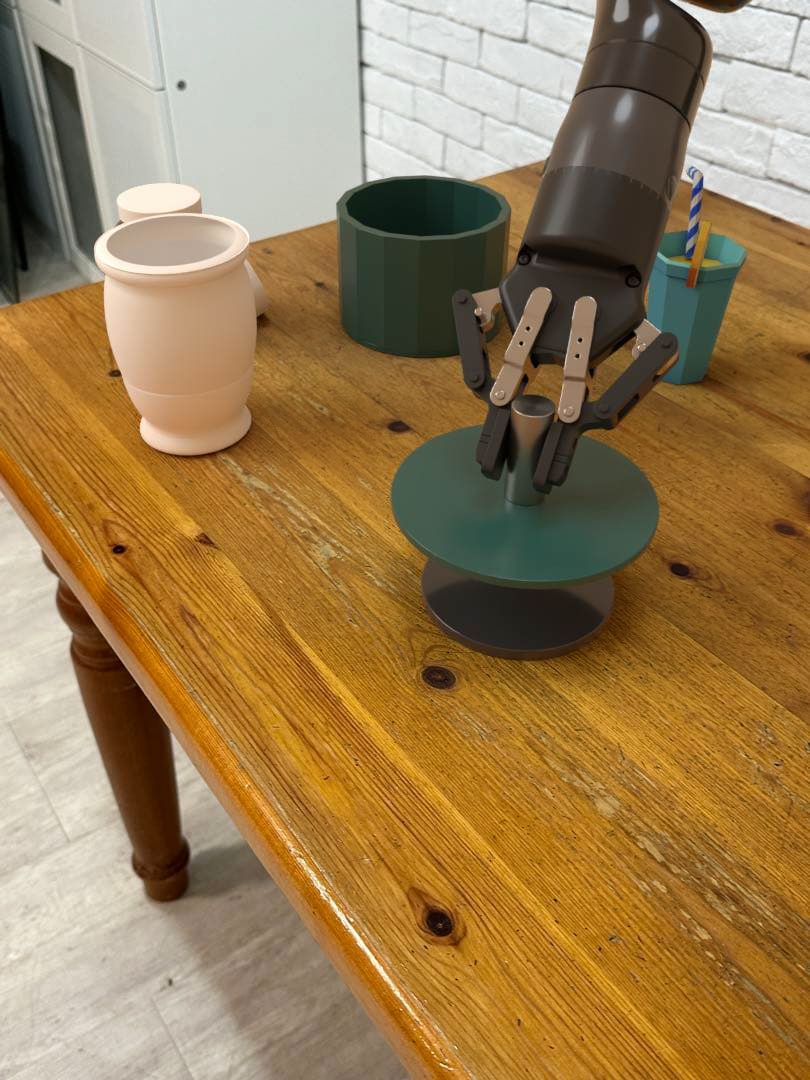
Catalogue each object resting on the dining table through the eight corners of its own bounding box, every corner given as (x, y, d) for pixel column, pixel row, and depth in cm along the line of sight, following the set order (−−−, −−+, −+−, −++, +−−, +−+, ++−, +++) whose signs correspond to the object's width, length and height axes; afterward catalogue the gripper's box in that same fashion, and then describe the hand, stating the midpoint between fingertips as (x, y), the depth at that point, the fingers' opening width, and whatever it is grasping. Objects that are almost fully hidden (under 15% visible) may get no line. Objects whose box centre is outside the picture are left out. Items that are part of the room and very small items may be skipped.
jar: (196, 379, 86) (173, 200, 77) (293, 419, 81) (281, 233, 72) (97, 436, 79) (59, 246, 70) (196, 483, 74) (169, 286, 65)
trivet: (582, 526, 71) (583, 517, 70) (638, 650, 62) (640, 640, 61) (407, 541, 70) (408, 531, 69) (438, 669, 60) (438, 659, 60)
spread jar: (104, 327, 93) (80, 198, 86) (191, 282, 100) (176, 160, 93) (206, 365, 88) (189, 231, 81) (290, 315, 95) (281, 188, 88)
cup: (619, 324, 95) (644, 156, 85) (706, 327, 94) (741, 159, 85) (636, 404, 84) (667, 222, 74) (734, 408, 83) (778, 225, 74)
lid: (610, 430, 69) (626, 331, 64) (695, 585, 57) (723, 476, 52) (375, 446, 67) (374, 345, 62) (411, 610, 55) (414, 499, 50)
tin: (483, 280, 102) (490, 172, 95) (517, 352, 90) (528, 234, 84) (333, 288, 100) (329, 178, 93) (349, 362, 88) (346, 243, 82)
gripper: (728, 245, 61) (641, 528, 60) (503, 204, 65) (418, 467, 64) (730, 184, 54) (631, 504, 53) (477, 142, 58) (381, 437, 57)
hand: (514, 482), depth 58 cm, fingers closed on lid, 2 cm apart
